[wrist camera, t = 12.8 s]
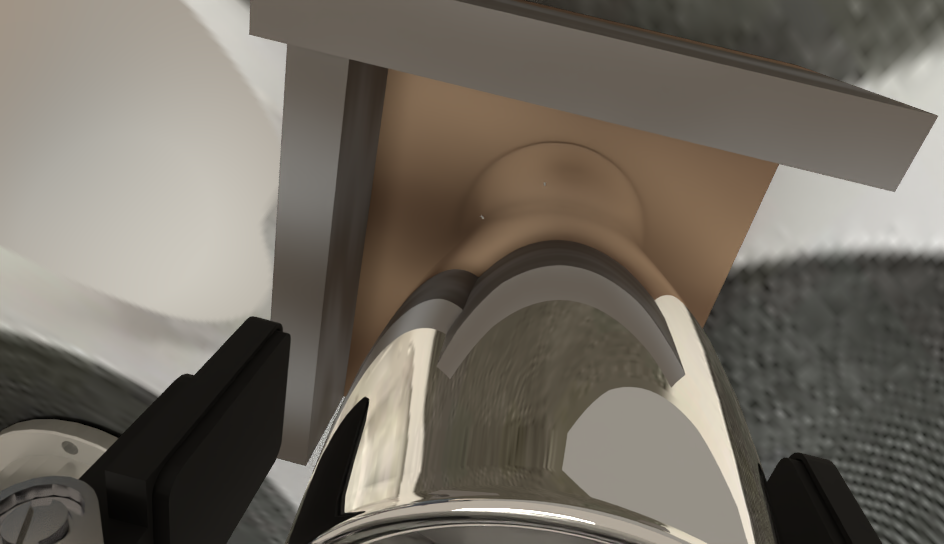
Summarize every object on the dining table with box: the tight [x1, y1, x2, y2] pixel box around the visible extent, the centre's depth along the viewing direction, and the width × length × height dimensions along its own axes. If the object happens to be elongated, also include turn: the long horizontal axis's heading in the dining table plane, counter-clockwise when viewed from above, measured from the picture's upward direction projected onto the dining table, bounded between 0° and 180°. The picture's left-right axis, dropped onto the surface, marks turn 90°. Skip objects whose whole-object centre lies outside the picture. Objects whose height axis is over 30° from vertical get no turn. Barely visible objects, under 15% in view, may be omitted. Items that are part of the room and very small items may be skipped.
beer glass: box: [285, 142, 785, 544], centre depth 13 cm, size 7×7×15 cm
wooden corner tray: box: [249, 0, 938, 466], centre depth 19 cm, size 16×14×8 cm
